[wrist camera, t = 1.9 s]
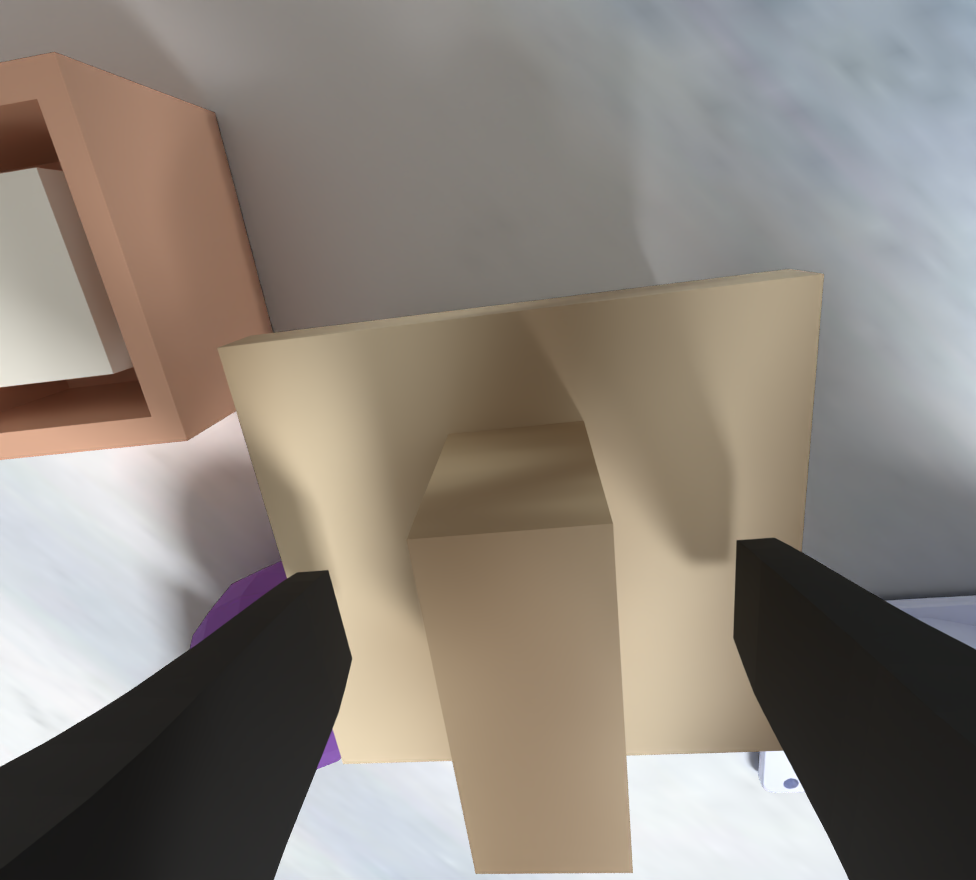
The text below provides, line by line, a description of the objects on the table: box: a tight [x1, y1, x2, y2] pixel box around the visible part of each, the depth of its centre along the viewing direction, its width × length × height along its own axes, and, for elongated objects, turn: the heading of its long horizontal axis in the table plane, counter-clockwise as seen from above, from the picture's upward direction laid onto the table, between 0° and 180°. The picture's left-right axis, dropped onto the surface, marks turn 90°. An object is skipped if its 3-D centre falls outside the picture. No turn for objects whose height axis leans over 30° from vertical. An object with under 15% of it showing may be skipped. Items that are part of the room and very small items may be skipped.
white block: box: [0, 168, 133, 387], centre depth 13 cm, size 4×4×4 cm
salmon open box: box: [0, 52, 273, 460], centre depth 13 cm, size 7×7×5 cm
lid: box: [217, 269, 824, 874], centre depth 10 cm, size 10×10×5 cm
